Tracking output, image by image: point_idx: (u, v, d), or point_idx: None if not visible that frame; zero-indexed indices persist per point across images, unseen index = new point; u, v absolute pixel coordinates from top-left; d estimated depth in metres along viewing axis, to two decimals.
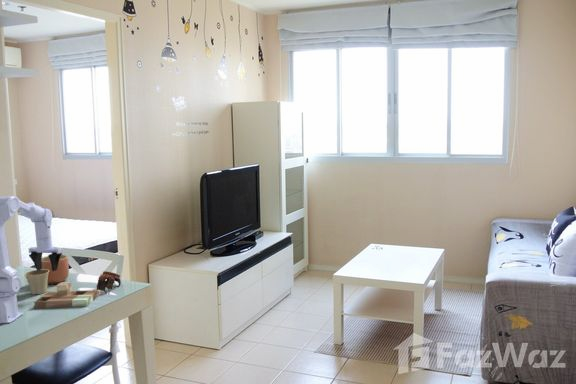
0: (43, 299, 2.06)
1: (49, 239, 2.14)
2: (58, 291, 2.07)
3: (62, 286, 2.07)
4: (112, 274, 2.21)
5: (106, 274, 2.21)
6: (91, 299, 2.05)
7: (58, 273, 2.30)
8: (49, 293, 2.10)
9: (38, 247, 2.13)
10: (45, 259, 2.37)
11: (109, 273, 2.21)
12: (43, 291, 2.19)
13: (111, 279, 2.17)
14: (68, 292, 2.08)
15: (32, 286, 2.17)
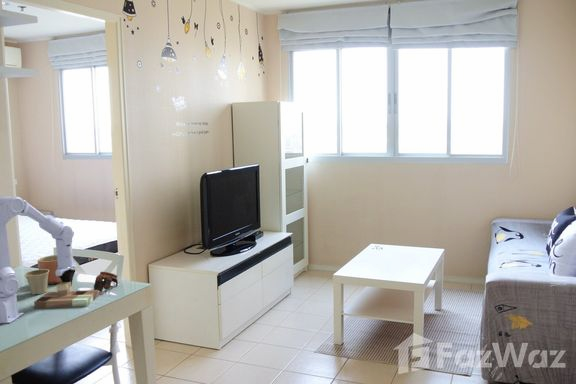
0: (43, 299, 2.06)
1: (61, 258, 2.08)
2: (58, 291, 2.07)
3: (62, 286, 2.07)
4: (109, 274, 2.21)
5: (103, 274, 2.21)
6: (91, 299, 2.05)
7: None
8: (49, 293, 2.10)
9: None
10: (45, 259, 2.37)
11: (106, 273, 2.21)
12: (43, 291, 2.19)
13: (108, 279, 2.17)
14: (68, 292, 2.08)
15: (32, 286, 2.17)
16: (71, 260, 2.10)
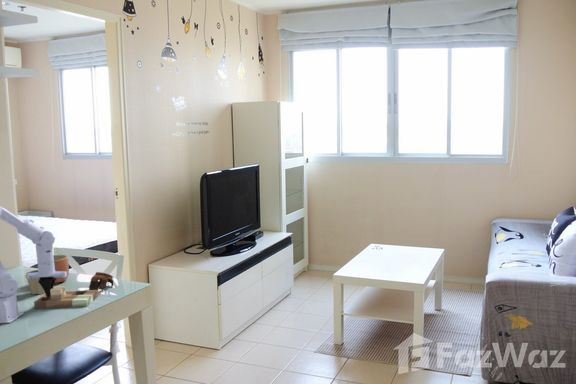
0: (43, 299, 2.06)
1: (53, 263, 2.01)
2: (52, 296, 2.01)
3: (56, 290, 2.01)
4: (105, 275, 2.20)
5: (98, 274, 2.20)
6: (91, 299, 2.05)
7: None
8: None
9: (41, 272, 1.99)
10: None
11: (102, 274, 2.20)
12: (43, 291, 2.19)
13: (104, 280, 2.16)
14: (62, 297, 2.03)
15: (33, 286, 2.17)
16: None
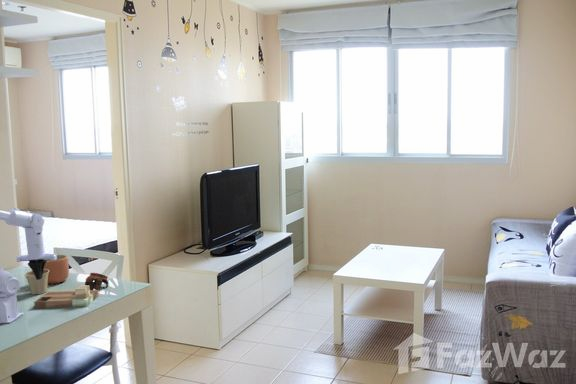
0: (43, 299, 2.06)
1: (42, 245, 2.01)
2: (76, 295, 2.01)
3: (81, 289, 2.01)
4: (100, 275, 2.20)
5: (93, 275, 2.20)
6: (91, 299, 2.05)
7: (58, 273, 2.31)
8: (49, 293, 2.10)
9: (31, 255, 1.99)
10: None
11: (96, 274, 2.20)
12: (43, 291, 2.19)
13: (99, 280, 2.16)
14: (87, 296, 2.02)
15: (32, 286, 2.17)
16: None
